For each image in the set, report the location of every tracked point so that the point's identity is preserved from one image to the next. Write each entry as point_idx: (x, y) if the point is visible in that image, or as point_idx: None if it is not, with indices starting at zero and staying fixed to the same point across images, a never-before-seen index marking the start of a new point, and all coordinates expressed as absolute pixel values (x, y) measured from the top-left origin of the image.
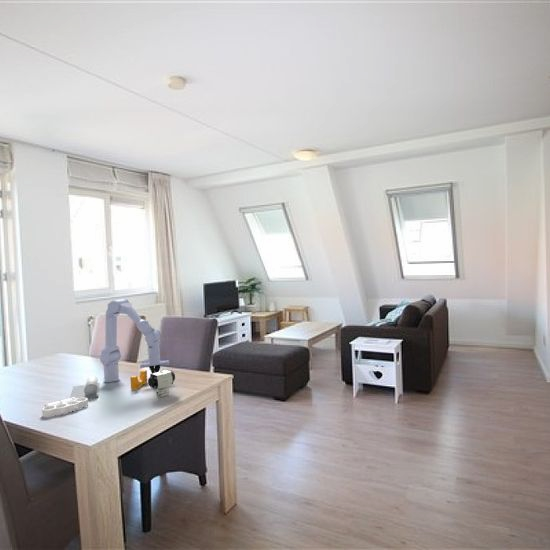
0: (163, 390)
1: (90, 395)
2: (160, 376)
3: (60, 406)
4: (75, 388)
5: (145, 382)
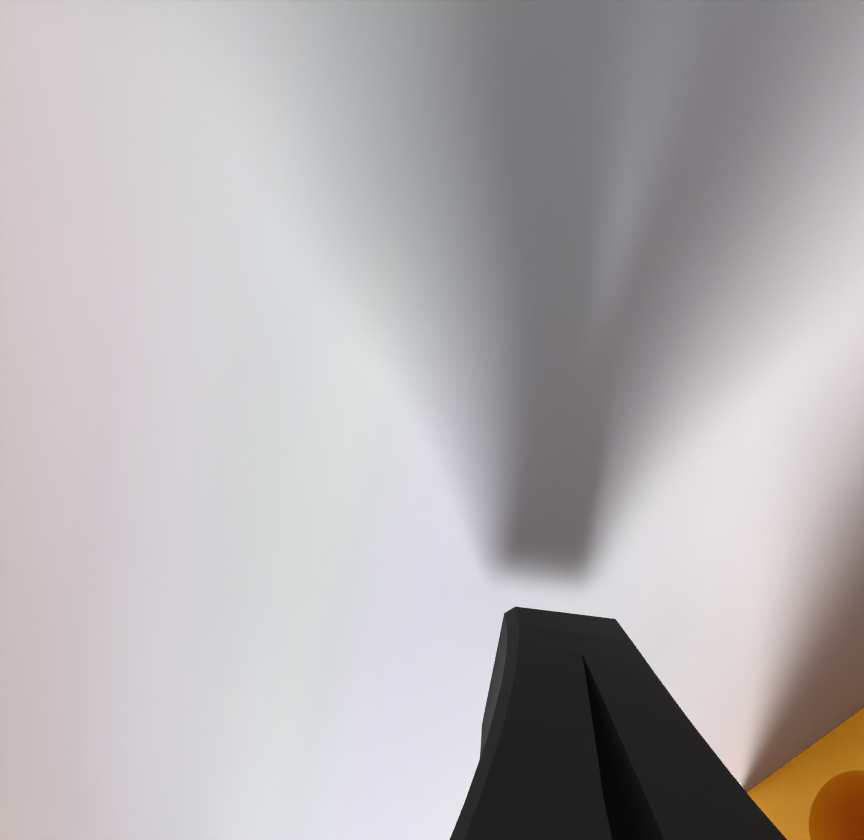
0: None
1: None
2: None
3: None
4: None
5: (854, 753)
